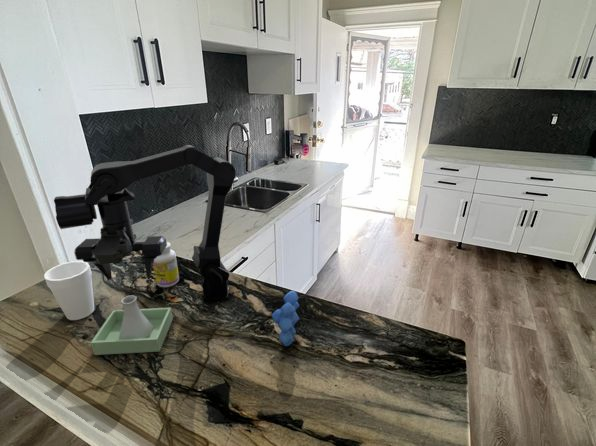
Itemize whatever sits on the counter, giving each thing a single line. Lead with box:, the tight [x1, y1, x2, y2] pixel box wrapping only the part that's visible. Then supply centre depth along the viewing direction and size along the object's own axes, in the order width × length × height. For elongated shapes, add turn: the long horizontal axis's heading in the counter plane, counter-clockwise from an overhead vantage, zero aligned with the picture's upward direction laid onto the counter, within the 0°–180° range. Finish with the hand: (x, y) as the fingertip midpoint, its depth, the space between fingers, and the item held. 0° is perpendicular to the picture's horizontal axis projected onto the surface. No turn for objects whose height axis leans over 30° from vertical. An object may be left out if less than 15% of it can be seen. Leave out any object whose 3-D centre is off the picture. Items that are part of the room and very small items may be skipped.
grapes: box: [271, 290, 300, 347], centre depth 74 cm, size 12×7×12 cm, turn 170°
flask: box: [119, 294, 154, 340], centre depth 74 cm, size 7×7×10 cm
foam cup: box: [43, 260, 95, 321], centre depth 81 cm, size 10×9×13 cm
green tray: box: [90, 307, 174, 356], centre depth 75 cm, size 14×11×4 cm
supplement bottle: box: [152, 241, 180, 288], centre depth 95 cm, size 7×7×13 cm
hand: (129, 277), depth 78 cm, fingers open, 9 cm apart
